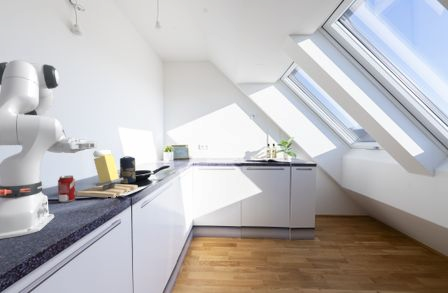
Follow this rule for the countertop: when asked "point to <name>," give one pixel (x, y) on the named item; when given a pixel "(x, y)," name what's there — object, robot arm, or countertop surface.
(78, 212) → the countertop surface
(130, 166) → the canister
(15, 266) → the countertop surface
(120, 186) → the wooden slatted trivet
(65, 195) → the soda can
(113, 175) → the yellow boxy piece
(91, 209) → the countertop surface
